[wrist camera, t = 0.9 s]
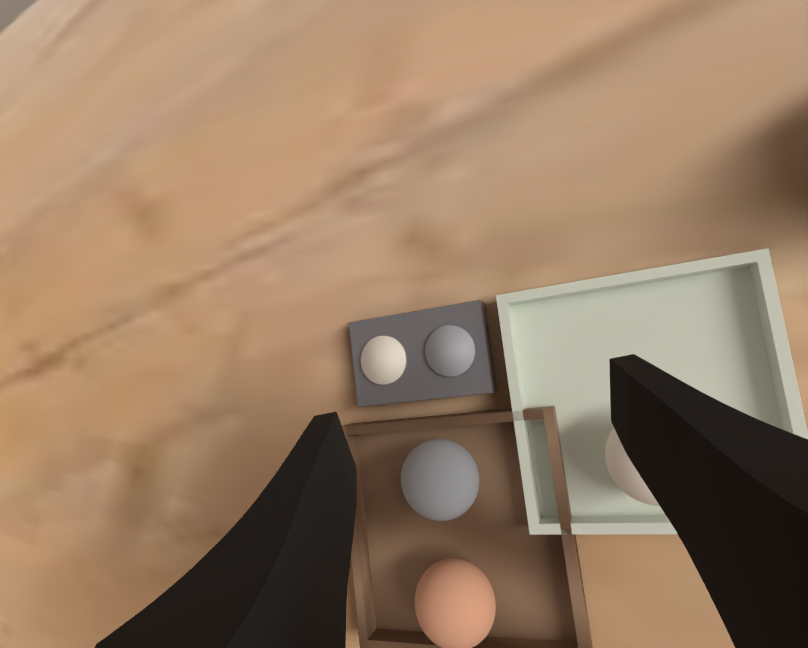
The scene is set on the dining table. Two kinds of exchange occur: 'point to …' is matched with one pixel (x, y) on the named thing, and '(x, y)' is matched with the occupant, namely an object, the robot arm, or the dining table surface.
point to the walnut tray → (463, 535)
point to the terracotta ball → (455, 604)
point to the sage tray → (652, 341)
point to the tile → (422, 355)
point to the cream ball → (625, 471)
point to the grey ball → (440, 479)
